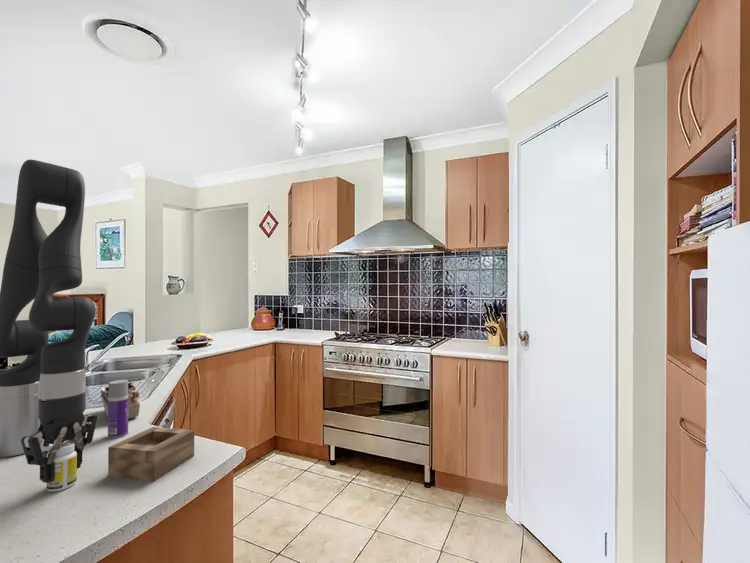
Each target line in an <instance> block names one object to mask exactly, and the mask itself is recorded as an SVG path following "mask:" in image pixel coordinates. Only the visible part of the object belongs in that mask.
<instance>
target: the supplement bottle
mask: <svg viewBox="0 0 750 563" xmlns="http://www.w3.org/2000/svg"><path fill="white" fill-rule="evenodd" d="M74 449H75V443H74V442H71V441H69V442H66V441H65V442H63V443H61V446H60V449H59V450H58V451H57V452H56V455H55V458H54V461H53V462H54V463H55V471H54V481H52V482H50V483H46V491H48V492H51V493H52V492H54V493H56V492H59V491H63V490H66V489H69V488H71V487H72V486H74V485H75V484H76V483H77V481H78V477H77V474H78V473H77V472H78V469H77V452H76V451H74Z"/></svg>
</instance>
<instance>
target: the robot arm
mask: <svg viewBox="0 0 750 563" xmlns="http://www.w3.org/2000/svg"><path fill="white" fill-rule="evenodd" d="M85 195H86V185H85V179H84V176H83V173H81V172H79V171H78V170H76V169H73V168H71V167H70V168H69V167H66V166H61V165H57V164H54V163H49V162H45V161H41V160H37V159H27V160H25V161H24V162H23V163H22V164H21V167H20V170H19V174H18V179H17V189H16V199H15V207H14V208H15V209H14V217H13V223H12V229H11V233H10V237H9V241H8V245H7V250H6V254H5V258H4V259H5V260H4V263H3V269H2V278H1V283H0V284H1V285H0V359H4V358H6V359H7V358H14V357H23V356H26V358H25V359H24V360H23V361H22V362H21V363H19V364H17V365H15V366H13V367H11V368H9V369H6V370H3V371H1V372H0V458H6V457H14V456H19V455H23V454H24V456H25V460H26V463H27V464H28V465H33V466H35V465H36V466H39V480H40V482H42V483H46V484H47V483H50V482H52V481H54V471H55V463H54V462H53V461H54V458H55V455H56V452H57V451H58V450H59V449H60V446H61V443H63V442H69V441H71V442H74V443H75V449H74V451H76V452H77V470H78V469H79V468H81V466H82V464H83V450H84V449H85V447H86V446H87V445H90V444H92V442H93V438H94V435H95V429H96V426H97V421H98V414H97V415H96V414H85V413H84V412H85V411H86V409H87V408H86V407H87V406H86V404H87V403H86V400H87V399H86V396H87V394H86V393H87V392H86V390H87V383H86V382H87V377H86V372H85V363H86V362H85V357H86V356H85V354H86V345H87V341H88V337H89V334H90V331H91V328H92V325H93V323H94V321H95V317H96V311H97V310H96V309H97V308H96V305H95V303H94V302H93V301H92V299H91V298H88V297H87V296H70V297H69V296H53V295H54V294H56V293H60V292H64V291H65V292H66V291H68V290H70V291H71V290H73V289H76V288H79V287H80V286H81V285H82V283H83V272H82V271H83V269H82V257H81V240H82V232H83V231H82V230H83V223H84V212H85V199H86V196H85ZM38 203H39V204H46V205H52V206H56V207H62V208H63V207H64V208H65V211H64V216H63V219H61V221H60V223H58V225H57V226H56V227H55V228H54V230H53V231H52V232H50V233H49V234H47V233H46V231H45V230H44V228H43V226H42V224H41V221H40V220H39V217H38V213H37V204H38ZM32 301H33V302H32ZM30 303H32V305H31V306H30V309H29V313H28V319H22V320H21V319H19V320H17V319H18V317H19V315H20V313H21V312H22V311H23V310H24V309H25V307H27V306H28V305H29V304H30ZM59 331H62V332H63V331H72V332H71V334H70V335H69V336H68V337H67V338H65V339H62V340H58V341H55V342H50V343H49V337H50V336H49V335H50V334H49V333H50V332H59ZM50 445H51V446H50Z"/></svg>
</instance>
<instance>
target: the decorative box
mask: <svg viewBox="0 0 750 563" xmlns="http://www.w3.org/2000/svg"><path fill="white" fill-rule="evenodd" d="M137 387H138V384H137V383H136V382H132V381H128V420H130V419H132V418H137V417H139V414H140V413H139V412H140V407H141V403H140V401H139V400H138V398H140V393H139V390H137ZM108 391H109V384H107V385H104V386H102V387H100V397H101V400H102V403H103V404H102V405H103V408H104V413H105V415H106V416H107V418H108Z"/></svg>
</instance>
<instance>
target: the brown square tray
mask: <svg viewBox="0 0 750 563" xmlns="http://www.w3.org/2000/svg"><path fill="white" fill-rule="evenodd" d="M107 448H108V449H107V450H108V452H107V453H108V455H107V456H108V457H107V460H108V461H107V466H108V468H107V472H108V474H107V475H108V477H114V478H123V479H132V480H140V481H147V482H148V481H150V482H155V481H158V480H159V479H161V478H163V477H164V476H165V475H166V474H169V473H170V472H171V471H173V470H175V469H176V468H178V467H179V466H181V465H183V464H184V463H186V462H188V461H189V460H190V459H192V458H193V457H195V429H194V430H193V429H183V428H173V427H172V428H168V427H161V426H160V427H158V426H157V427H156V426H152V427H149V428H148V429H146V430H143V431H140V432H138V433H136V434H134V435H132V436H129V437H128V438H126V439H123V440H121V441H119V442H117V443H114V444H112V445H110V446H108V447H107Z"/></svg>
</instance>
